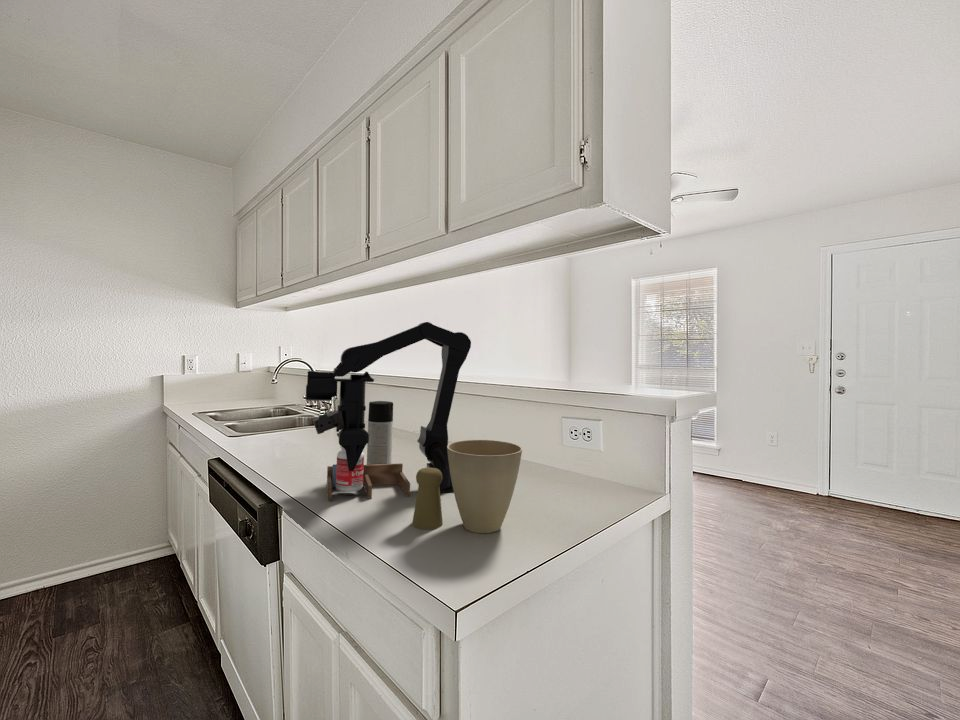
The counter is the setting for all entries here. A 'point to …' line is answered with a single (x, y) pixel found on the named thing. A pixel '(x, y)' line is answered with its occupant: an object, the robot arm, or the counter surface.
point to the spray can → (380, 432)
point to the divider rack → (373, 477)
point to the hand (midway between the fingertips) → (350, 467)
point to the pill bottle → (348, 473)
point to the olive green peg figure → (428, 499)
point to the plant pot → (483, 481)
